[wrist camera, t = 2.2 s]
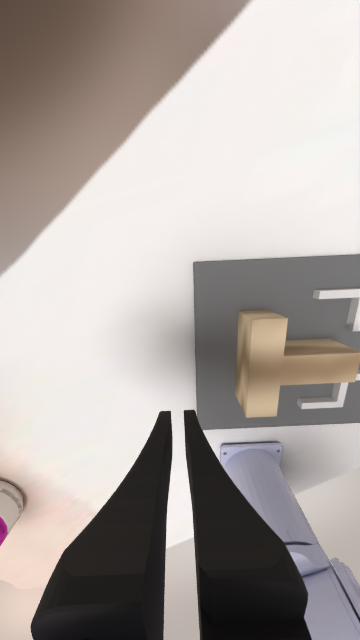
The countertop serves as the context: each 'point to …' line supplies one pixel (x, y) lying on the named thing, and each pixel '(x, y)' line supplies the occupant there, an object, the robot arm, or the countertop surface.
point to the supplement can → (9, 508)
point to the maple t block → (283, 362)
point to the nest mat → (303, 323)
